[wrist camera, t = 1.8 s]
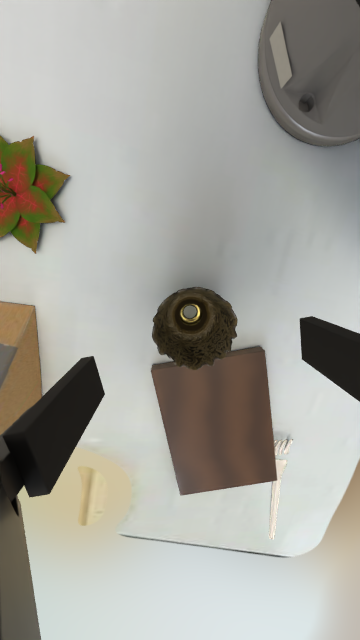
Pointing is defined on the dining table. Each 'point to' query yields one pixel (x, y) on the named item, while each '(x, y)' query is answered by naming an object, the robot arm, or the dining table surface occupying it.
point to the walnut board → (218, 421)
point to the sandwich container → (18, 362)
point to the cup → (194, 328)
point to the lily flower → (26, 192)
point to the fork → (277, 484)
